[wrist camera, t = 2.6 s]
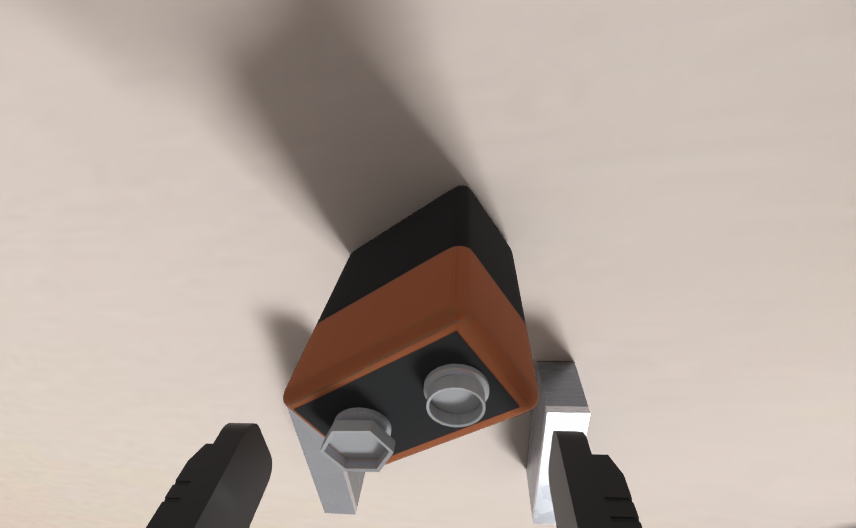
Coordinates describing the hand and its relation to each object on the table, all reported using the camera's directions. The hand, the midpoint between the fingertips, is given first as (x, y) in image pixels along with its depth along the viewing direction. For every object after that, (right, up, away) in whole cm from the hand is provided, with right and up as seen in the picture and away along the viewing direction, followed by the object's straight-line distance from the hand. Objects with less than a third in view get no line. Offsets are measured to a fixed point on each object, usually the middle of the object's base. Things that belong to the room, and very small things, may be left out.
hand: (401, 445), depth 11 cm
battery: (+1, +6, +9) cm, 10 cm away
